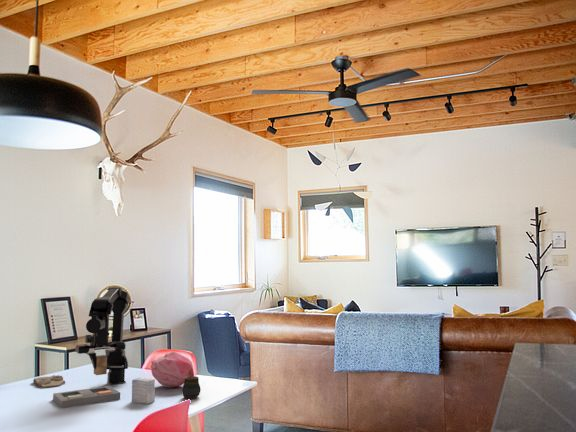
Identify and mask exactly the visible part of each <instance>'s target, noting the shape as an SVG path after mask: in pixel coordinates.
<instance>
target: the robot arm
mask: <svg viewBox="0 0 576 432" xmlns="http://www.w3.org/2000/svg"><path fill="white" fill-rule="evenodd" d="M129 304H130V296H129V294H128V292H127V291H124V290H123V289H122V287H119V286H111V287H109V288H108V290H107V291H106V292H105V294H103V295H102V296H101V297H97V298H95V299H94V300H93V301H92V302H91V305H90V310H89V312H88V317H91V318H90V319H89V320H87V322H86V324H85V329H86V331H87V332H88V333H90V334H86V335H85V336H84V337H85V339H84V341H85V343H83V344H77V345H76V346H75V350H74V351H75V353H76V354H79V355H82V354H86V355H87V356H88V357H89V359H90V361H91V364H92V367H93V370H94V369H96V356H97V352H95V351H96V350H97V351H98V350H104V352H105V356H107V370H108V371H107V379H106V380H107V381H106V382H107V383H108V384H110V385H116V384H118V385H119V384H125V383H126V382H127V381H125V378H126V377H125V371H126V369H128V368H129V362H128V358H127V355H126V342H124V341H123V336H124V335H123V334H124V333H123V332H124V320H125V319H124V317H125V312H126V311H127V310H128V308H129ZM112 313H113V314H112ZM111 314H112V315H113V316H112V329H111V331H112V332H111V343H109V336H110V332H109V328H110V315H111ZM88 344H89V345H88Z"/></svg>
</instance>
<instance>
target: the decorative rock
mask: <svg viewBox="0 0 576 432" xmlns="http://www.w3.org/2000/svg"><path fill="white" fill-rule="evenodd" d="M150 368H151V375H152V377H153V379H154V380H156V381H157V382H158V383H159V384H160V385H161V386H163V387H164V388H165V387H166V388H168V389H170V388H175V387H180V386H183V385H184V382H185V377H189V376H191V375H190V371H191V373H192V376H195V372H194V367H193V362H192V361H191V359H190V358H189V357H187V356H184V355H182V354H180V353H178V352H176V351H171V352H169V353H165V354H164V355H161V356H159V357H157V358H156V359H152V360H151V365H150Z"/></svg>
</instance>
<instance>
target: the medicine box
mask: <svg viewBox="0 0 576 432" xmlns="http://www.w3.org/2000/svg"><path fill="white" fill-rule="evenodd" d="M155 380H156V379H155V378H146V377H136V378H134V379H132V380H131V403H137V404H146V405H149V404H152V403H154V402H155V399H156V398H155V397H156V395H155V389H156V388H155Z"/></svg>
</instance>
